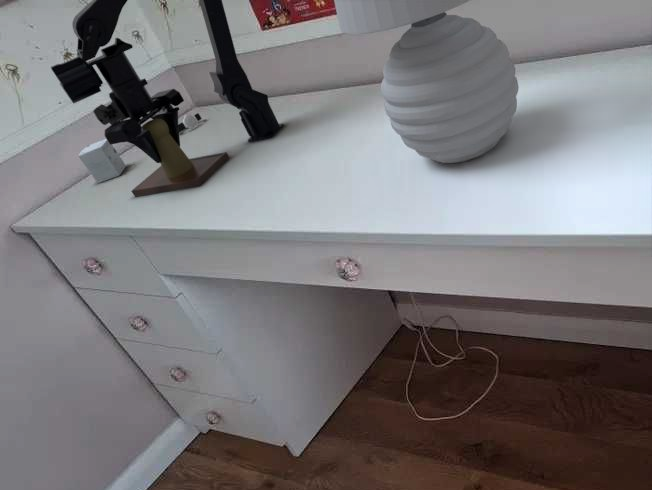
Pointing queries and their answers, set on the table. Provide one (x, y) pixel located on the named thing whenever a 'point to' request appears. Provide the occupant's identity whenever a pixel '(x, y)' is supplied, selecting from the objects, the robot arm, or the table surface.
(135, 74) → the robot arm
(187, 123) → the watch
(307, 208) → the table surface
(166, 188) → the walnut board
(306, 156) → the table surface
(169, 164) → the olive yellow pawn
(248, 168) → the table surface
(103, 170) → the white cardboard box
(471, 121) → the table lamp
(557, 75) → the table surface
